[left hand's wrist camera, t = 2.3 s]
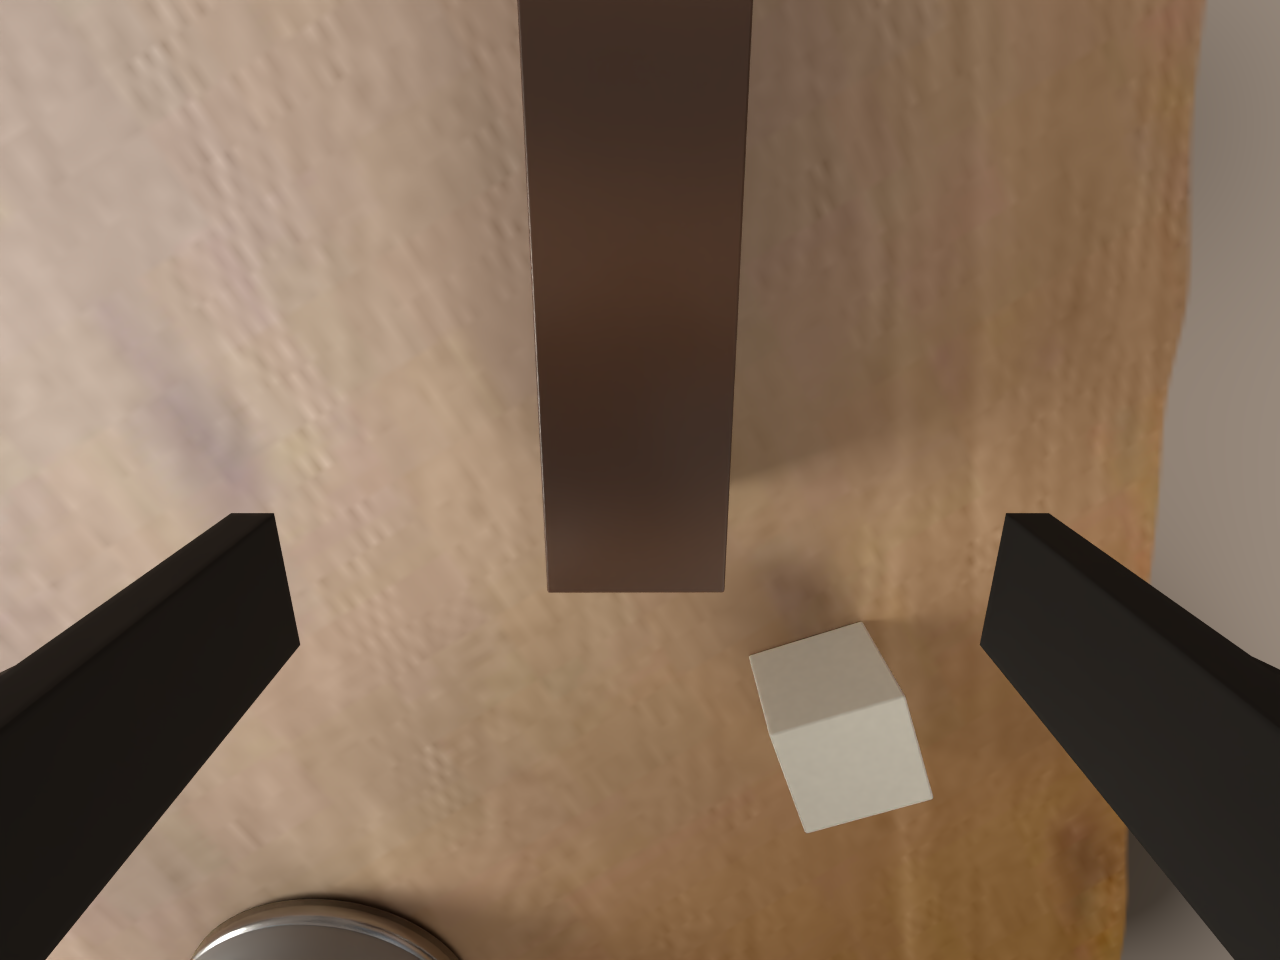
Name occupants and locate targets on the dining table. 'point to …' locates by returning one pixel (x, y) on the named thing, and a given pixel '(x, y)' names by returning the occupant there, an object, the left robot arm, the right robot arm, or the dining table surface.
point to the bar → (635, 281)
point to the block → (840, 728)
